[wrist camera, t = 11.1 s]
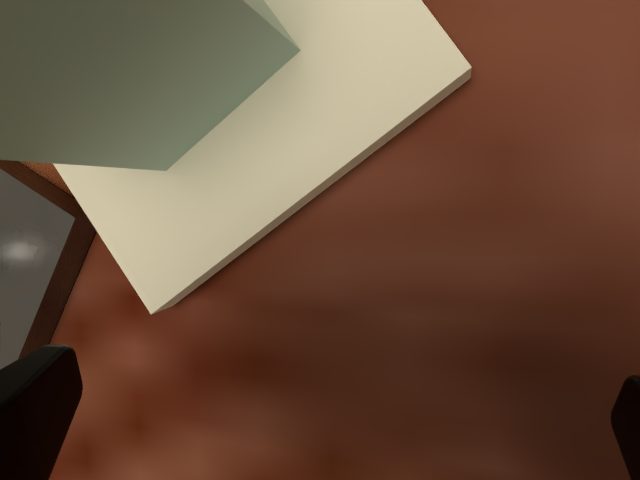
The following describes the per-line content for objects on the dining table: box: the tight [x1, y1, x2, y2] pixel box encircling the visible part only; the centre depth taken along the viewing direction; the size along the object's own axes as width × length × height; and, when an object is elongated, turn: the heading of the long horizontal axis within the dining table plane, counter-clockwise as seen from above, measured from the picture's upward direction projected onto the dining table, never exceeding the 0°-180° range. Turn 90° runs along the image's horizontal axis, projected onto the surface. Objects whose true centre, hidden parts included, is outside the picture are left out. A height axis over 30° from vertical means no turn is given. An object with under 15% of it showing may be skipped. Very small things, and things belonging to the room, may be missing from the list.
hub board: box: [53, 0, 472, 314], centre depth 16 cm, size 14×14×5 cm
